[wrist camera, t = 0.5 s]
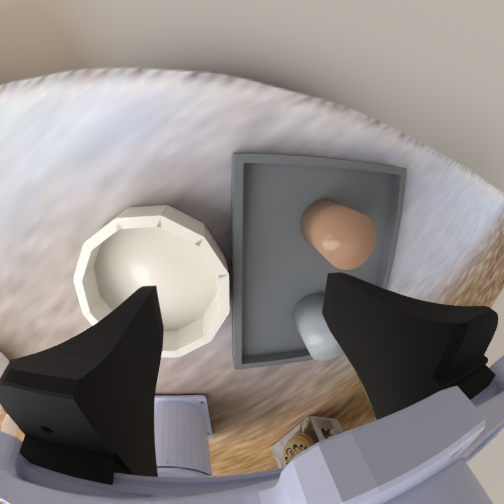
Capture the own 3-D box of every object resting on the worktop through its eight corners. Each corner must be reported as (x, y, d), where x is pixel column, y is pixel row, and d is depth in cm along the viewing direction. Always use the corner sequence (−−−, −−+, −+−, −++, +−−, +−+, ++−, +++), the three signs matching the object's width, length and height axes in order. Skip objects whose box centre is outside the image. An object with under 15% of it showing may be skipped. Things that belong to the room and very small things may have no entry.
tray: (362, 339, 27) (369, 347, 25) (232, 358, 24) (235, 369, 23) (395, 166, 20) (406, 168, 19) (231, 153, 18) (234, 153, 17)
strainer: (-8, 400, 22) (-34, 463, 8) (22, 416, 24) (0, 486, 10) (5, 421, 24) (-15, 480, 11) (34, 436, 26) (18, 499, 12)
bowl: (226, 330, 23) (230, 354, 20) (106, 332, 21) (97, 355, 18) (224, 202, 19) (228, 212, 16) (80, 211, 17) (62, 222, 14)
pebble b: (341, 245, 21) (371, 268, 17) (298, 247, 21) (321, 272, 17) (347, 199, 20) (380, 213, 16) (302, 198, 19) (328, 212, 15)
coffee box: (301, 448, 35) (331, 527, 20) (269, 446, 33) (296, 536, 18) (339, 417, 33) (382, 503, 18) (308, 414, 31) (350, 514, 16)
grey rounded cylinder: (327, 326, 24) (348, 356, 20) (289, 331, 24) (306, 364, 20) (334, 290, 23) (359, 319, 19) (294, 295, 22) (313, 326, 18)
